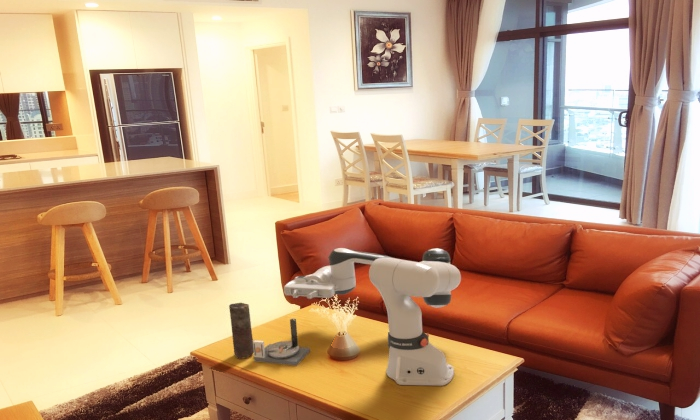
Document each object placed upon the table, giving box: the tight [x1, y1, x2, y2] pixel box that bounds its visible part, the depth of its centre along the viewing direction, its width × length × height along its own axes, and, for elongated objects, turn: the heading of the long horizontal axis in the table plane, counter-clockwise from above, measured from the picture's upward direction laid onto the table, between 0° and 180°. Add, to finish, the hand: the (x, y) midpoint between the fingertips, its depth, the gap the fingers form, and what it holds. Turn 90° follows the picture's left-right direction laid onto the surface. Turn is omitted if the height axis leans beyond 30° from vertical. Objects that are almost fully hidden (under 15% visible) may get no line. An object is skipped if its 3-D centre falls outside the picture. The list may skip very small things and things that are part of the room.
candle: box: [228, 302, 254, 360], centre depth 213 cm, size 8×7×20 cm
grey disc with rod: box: [267, 318, 300, 359], centre depth 210 cm, size 12×12×12 cm
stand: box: [253, 340, 311, 367], centre depth 210 cm, size 17×13×8 cm
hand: (301, 296), depth 215 cm, fingers open, 4 cm apart
